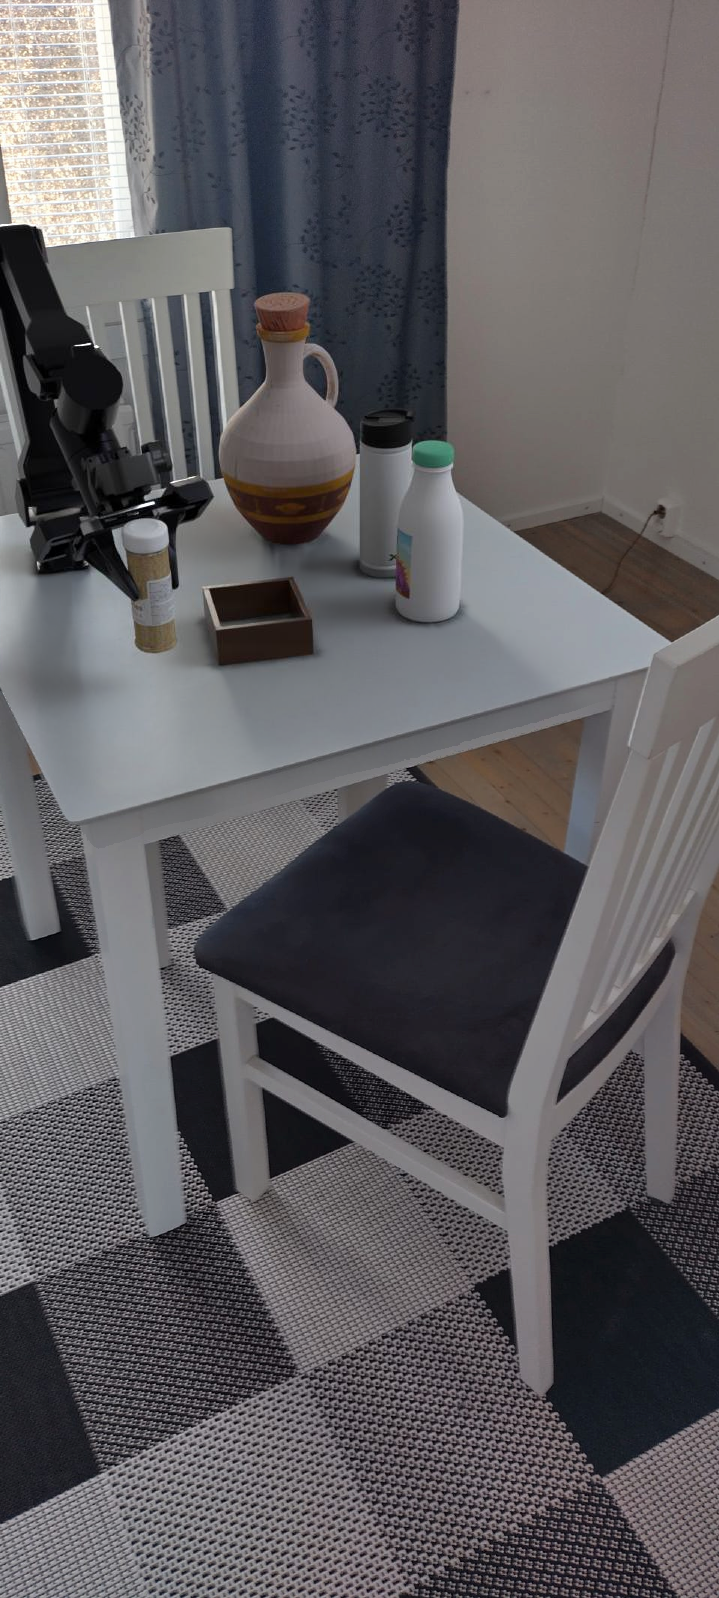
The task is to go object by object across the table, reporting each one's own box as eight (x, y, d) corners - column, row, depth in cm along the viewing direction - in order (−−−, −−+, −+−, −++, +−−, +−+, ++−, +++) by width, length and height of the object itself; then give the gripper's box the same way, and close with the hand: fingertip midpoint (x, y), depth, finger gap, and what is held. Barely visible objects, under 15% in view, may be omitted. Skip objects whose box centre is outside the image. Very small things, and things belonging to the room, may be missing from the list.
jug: (288, 492, 170) (279, 271, 152) (389, 522, 162) (393, 291, 144) (197, 538, 158) (176, 303, 140) (301, 573, 149) (294, 327, 131)
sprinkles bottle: (128, 641, 125) (113, 522, 117) (167, 629, 127) (155, 512, 119) (146, 659, 122) (132, 539, 114) (186, 648, 124) (175, 529, 116)
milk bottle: (466, 599, 144) (476, 438, 132) (449, 628, 138) (458, 462, 126) (406, 590, 146) (410, 430, 134) (386, 618, 140) (389, 454, 128)
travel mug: (406, 580, 148) (411, 422, 136) (355, 576, 149) (355, 418, 137) (414, 559, 153) (419, 405, 141) (364, 554, 154) (365, 401, 142)
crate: (205, 620, 139) (202, 586, 137) (294, 610, 141) (293, 576, 139) (218, 666, 131) (215, 630, 128) (313, 654, 133) (312, 618, 130)
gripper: (21, 436, 109) (89, 589, 109) (197, 397, 118) (261, 539, 117) (3, 489, 119) (65, 630, 118) (167, 450, 127) (225, 580, 127)
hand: (156, 593), depth 120 cm, fingers closed on sprinkles bottle, 4 cm apart
